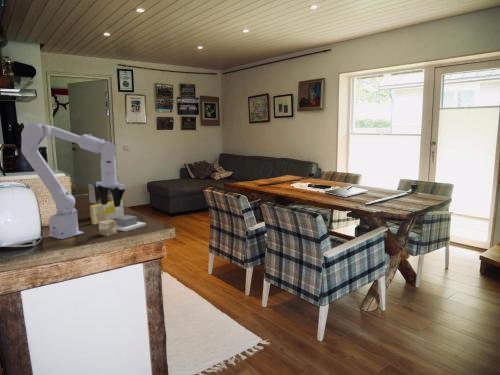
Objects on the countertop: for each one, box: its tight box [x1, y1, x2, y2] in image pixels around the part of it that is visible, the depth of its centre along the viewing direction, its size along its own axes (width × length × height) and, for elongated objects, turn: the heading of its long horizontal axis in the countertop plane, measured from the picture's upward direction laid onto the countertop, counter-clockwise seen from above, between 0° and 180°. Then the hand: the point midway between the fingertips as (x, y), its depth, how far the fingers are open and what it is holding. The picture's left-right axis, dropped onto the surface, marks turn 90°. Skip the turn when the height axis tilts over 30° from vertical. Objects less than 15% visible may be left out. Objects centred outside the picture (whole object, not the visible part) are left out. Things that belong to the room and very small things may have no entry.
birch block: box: [98, 220, 118, 237], centre depth 140 cm, size 4×4×5 cm
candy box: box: [89, 199, 125, 225], centre depth 161 cm, size 16×2×8 cm, turn 149°
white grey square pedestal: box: [115, 214, 147, 232], centre depth 151 cm, size 11×11×4 cm
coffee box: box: [88, 182, 114, 218], centre depth 167 cm, size 9×6×16 cm
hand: (110, 205), depth 144 cm, fingers open, 7 cm apart
